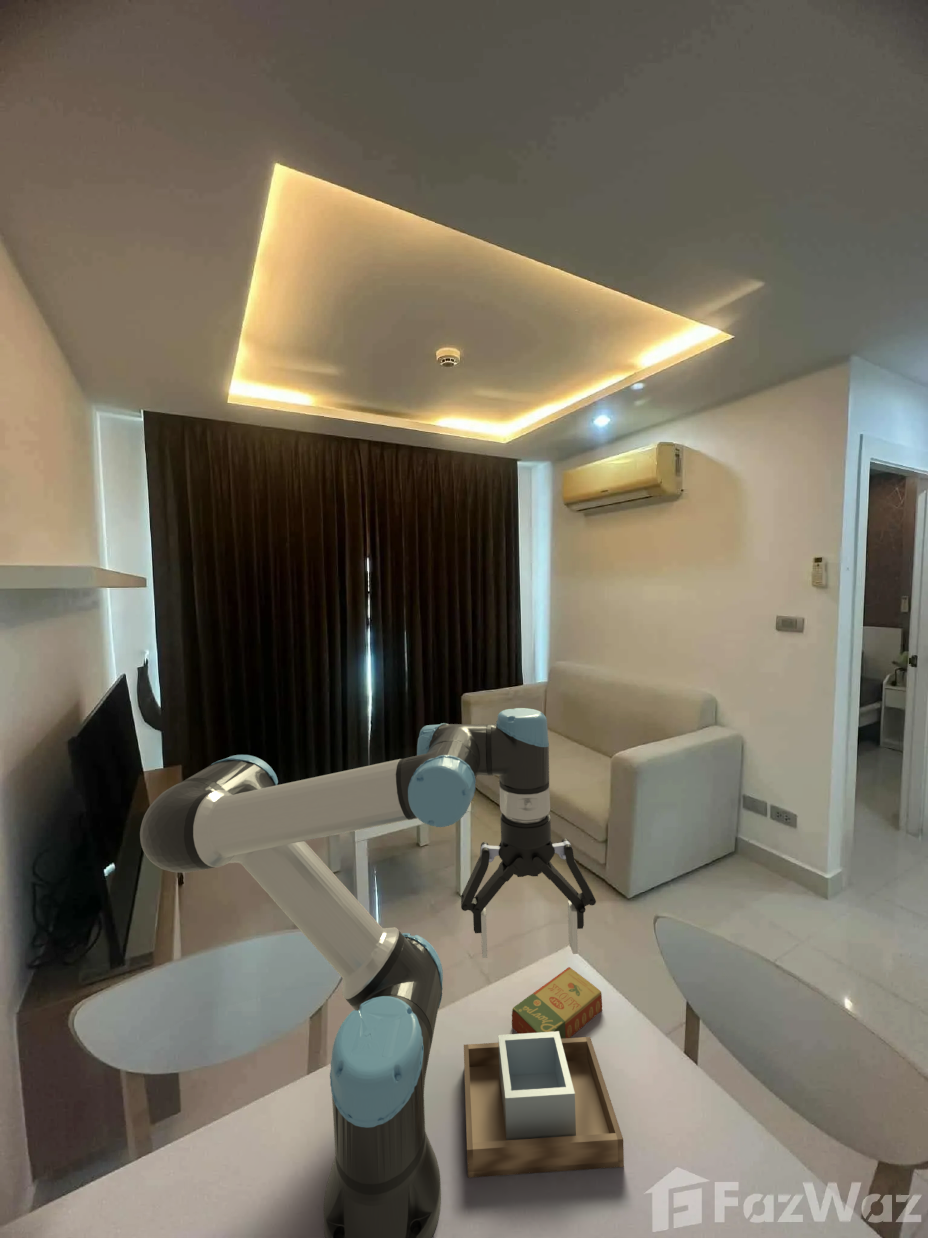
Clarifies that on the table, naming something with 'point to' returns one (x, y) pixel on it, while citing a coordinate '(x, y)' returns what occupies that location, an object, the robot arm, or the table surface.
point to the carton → (558, 1006)
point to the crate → (497, 1156)
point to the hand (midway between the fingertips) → (528, 949)
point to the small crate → (535, 1086)
